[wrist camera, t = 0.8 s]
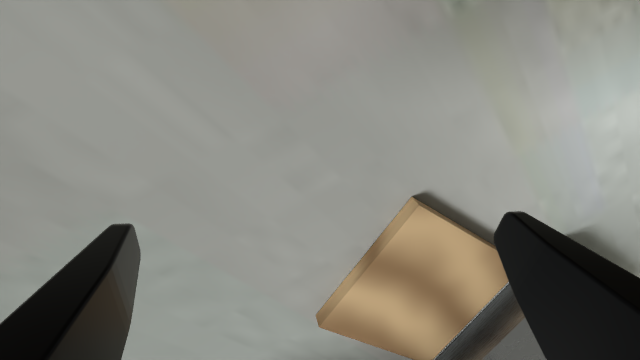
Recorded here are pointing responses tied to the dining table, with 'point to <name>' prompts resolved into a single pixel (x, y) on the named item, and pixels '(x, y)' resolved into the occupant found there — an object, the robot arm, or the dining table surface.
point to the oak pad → (415, 285)
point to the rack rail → (496, 334)
